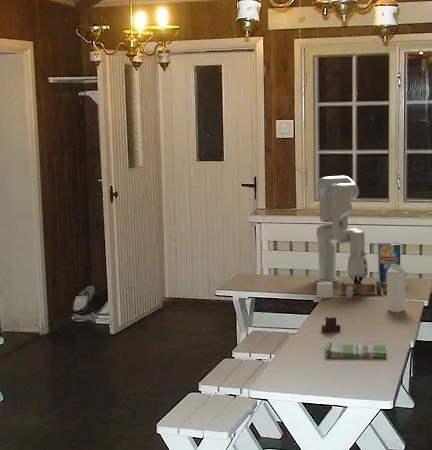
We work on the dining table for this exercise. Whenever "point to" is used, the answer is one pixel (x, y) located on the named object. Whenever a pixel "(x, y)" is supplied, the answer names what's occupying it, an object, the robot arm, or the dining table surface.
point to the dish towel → (355, 351)
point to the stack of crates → (330, 325)
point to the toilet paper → (324, 289)
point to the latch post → (349, 292)
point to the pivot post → (378, 287)
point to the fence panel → (385, 288)
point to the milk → (395, 288)
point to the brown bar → (359, 287)
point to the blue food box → (387, 258)
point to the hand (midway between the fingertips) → (357, 288)
